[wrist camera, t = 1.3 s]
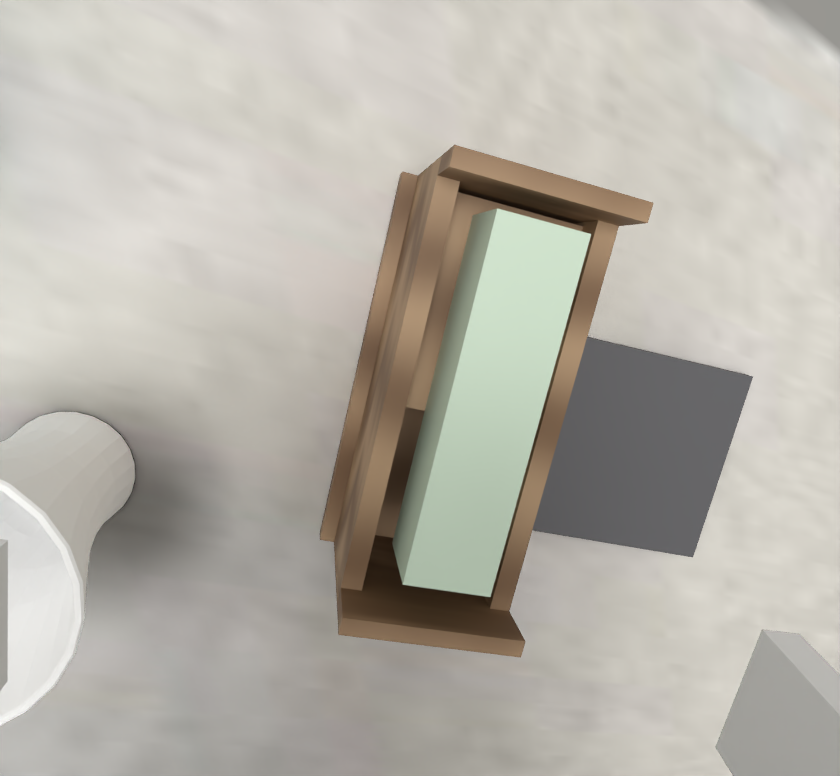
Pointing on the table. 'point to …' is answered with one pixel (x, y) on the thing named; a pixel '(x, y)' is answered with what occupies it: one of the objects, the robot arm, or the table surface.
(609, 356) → the rubber mat
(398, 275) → the wooden rack
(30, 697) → the cup
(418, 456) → the sage bar
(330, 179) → the table surface
